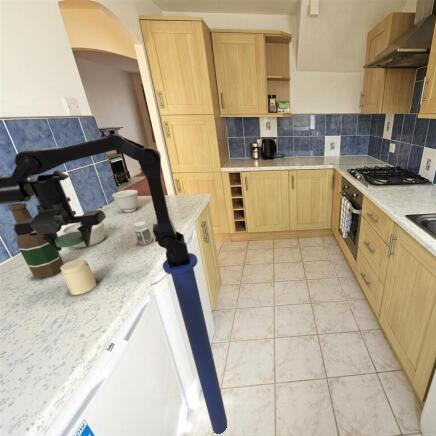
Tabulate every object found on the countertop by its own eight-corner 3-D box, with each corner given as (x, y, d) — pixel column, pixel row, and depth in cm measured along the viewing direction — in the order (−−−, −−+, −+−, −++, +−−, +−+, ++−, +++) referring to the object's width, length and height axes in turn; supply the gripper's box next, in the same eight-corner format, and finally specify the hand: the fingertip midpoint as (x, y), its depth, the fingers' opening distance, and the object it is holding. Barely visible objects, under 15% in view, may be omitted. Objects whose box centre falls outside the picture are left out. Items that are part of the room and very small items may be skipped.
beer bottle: (38, 282, 76) (0, 210, 66) (31, 274, 80) (-7, 206, 70) (69, 269, 82) (38, 202, 72) (60, 262, 86) (30, 198, 76)
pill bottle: (152, 238, 102) (147, 220, 98) (151, 243, 98) (146, 224, 94) (139, 240, 100) (133, 222, 96) (138, 245, 96) (132, 226, 93)
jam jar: (99, 279, 77) (89, 256, 73) (93, 291, 71) (82, 267, 68) (74, 284, 74) (63, 261, 71) (67, 297, 69) (55, 272, 66)
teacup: (138, 203, 143) (134, 187, 139) (145, 210, 133) (140, 192, 129) (114, 209, 136) (108, 192, 132) (119, 216, 125) (113, 198, 121)
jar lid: (50, 248, 67) (47, 243, 66) (65, 237, 73) (63, 232, 72) (78, 245, 68) (76, 240, 68) (91, 235, 74) (89, 230, 74)
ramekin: (111, 240, 101) (106, 225, 98) (71, 253, 92) (63, 237, 89) (104, 231, 109) (99, 217, 106) (66, 242, 100) (59, 227, 98)
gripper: (-18, 213, 55) (15, 269, 62) (80, 202, 61) (101, 255, 67) (15, 198, 65) (41, 249, 71) (97, 190, 70) (114, 238, 77)
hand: (74, 248), depth 71 cm, fingers closed on jar lid, 6 cm apart
